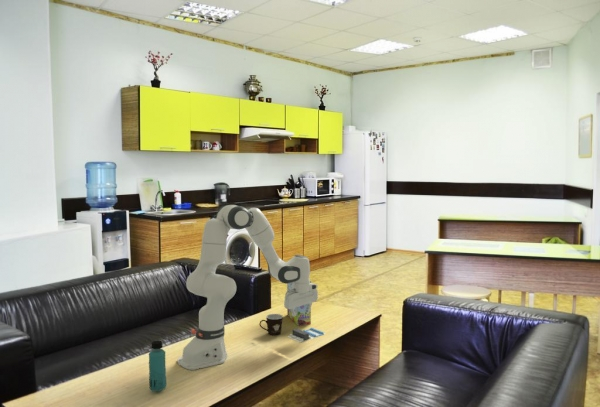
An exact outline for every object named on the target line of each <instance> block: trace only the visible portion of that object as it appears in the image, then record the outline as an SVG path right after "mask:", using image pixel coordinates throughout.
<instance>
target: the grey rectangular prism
mask: <svg viewBox="0 0 600 407" xmlns="http://www.w3.org/2000/svg"><path fill="white" fill-rule="evenodd" d="M291 334H292V335H295V336H297V337H300V338H302V339H303V340H304V342H306V341H305V340H307V341H309V340H308V339H309V333H307V332H304V331H303V330H302V329H299V328H294V329H292V332H291Z"/></svg>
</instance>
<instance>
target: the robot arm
mask: <svg viewBox="0 0 600 407" xmlns="http://www.w3.org/2000/svg"><path fill="white" fill-rule="evenodd" d="M243 229H246V231H247V232H248V234H249V237H250V238H251V240H252V241H253V243H255V245H256V246H257V247H258V249H260V251H261V253H262V255H263V257H264V259H265V260H266V261H265V262H266V263H267V269H268V270H267V271H268V274H269V275H270V277H271V278H273V279H275V280H277V281H278V282H280V283H282V284H285V285H287V283H292V289H291V290H288V291H286V292H285V294H284V295H285V296H284V301H283V307H284V308H285V309H290V310H291V312H292V316H296V312H295V311H294V310H295V308H296V307H299V306H303V305H306V304H308V305H307V308H306V312H309V311H310V308H312V304H313V303H316V302H317V301H318V297H319V296H318V295H319V294H318V289H317V288H318V284H316V283H313V282H311V283H310V281H311V279H310V274H311V265H310V259H309V258H308V257H307V256H305V255H303V254H302V255H301V254H295V255H293V257H292V258H290V259H289V260H287V261H285V260H283V259H282V258H281V257H279V255H278V254H277V251H276V250H275V247H274V245H273V242H274V240H275V237H276V235H275V232H274V229H273V227H272V225H271V224H270V221H269V220H268V219H267V217H266V215H265V214H264V213H263V212H262V211H261V209H260V208H257V207H251V208H248V209H247V208H246V207H244V206H240V205H236V204H226V205H223V206H221V207H220V208H219V209H218V211H217V212H216V214H215V216H214V217H213V218H210V219H208V220H207V221H206V222H205V224H204V227H203V230H202V231H203V232H202V239H201V247H200V256H199V261H198V264H197V266H196V268H195V269H194V271H192V272H190V274H189V275H188V276H187V279H186V283H185V284H186V289H187V290H188V292H190V293H192V294H194V295H195V296H199V297H204V298H206V299H207V300H206V304H205V305H204V306H202V307H201V308H200V309H199V312H198V328H197V329H196V328H195V329H194V328H192V329H191V330H190V333H191V334H192V335H195V336H194V337H193V338H192V339H191V340H190V341H189V342H188V343H187V344H186V345H185V346H184V347H183V350H182V356H180V357H178V358H177V362H176V363H177V364H178V365H179V366H180V367H182V368H183V369H186V370H190V371H194V370H199V368H200V369H205V368H208V367H212V366H216V365H220V364H224V363H225V360H226V359H227V357H228V353H227V350H226V346H225V345H226V344H225V331H226V330H225V324H224V316H225V314H224V313H225V308H226V305H227V303H228V302H229V301H230V300H231V299H233V297H234V296H235V294H236V292H237V283H236V281H235V280H234V278H232V277H229V276H227V275H224V274H219V273H216V271H217V269H218V266H220V265H222V264H223V263H225V260H226V254H227V253H226V252H227V242H228V241H227V238H228V234H229V231H230V230H237V231H238V230H243ZM287 292H288V293H287Z"/></svg>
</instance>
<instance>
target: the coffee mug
mask: <svg viewBox="0 0 600 407" xmlns="http://www.w3.org/2000/svg"><path fill="white" fill-rule="evenodd" d="M283 319H284V316H283V315H282V314H280V313H269V314H267V315H266V318H265V319H261V320H260V321H259V326H260V328H261V329H263V330H264V331H267V335H269V336H272V337H273V336H274V337H277V336H280V335H281V334H282V327H283ZM263 322H265V323H266V326H267V328H265V327H263V326H262V323H263Z"/></svg>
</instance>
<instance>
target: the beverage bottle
mask: <svg viewBox="0 0 600 407" xmlns="http://www.w3.org/2000/svg"><path fill="white" fill-rule="evenodd" d="M163 346H164V345H163V341H161V340H153V341H152V342H151V348H150V349H152V350H150V351H149V353H148V370H149V372H148V378H149V379H148V384H149V390H150V391H152V392H160V391H163V390H164V389H166V387H167V372H166V371H167V370H166V369H167V368H166V367H167V366H166V351H165V350H164V349H163Z"/></svg>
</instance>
